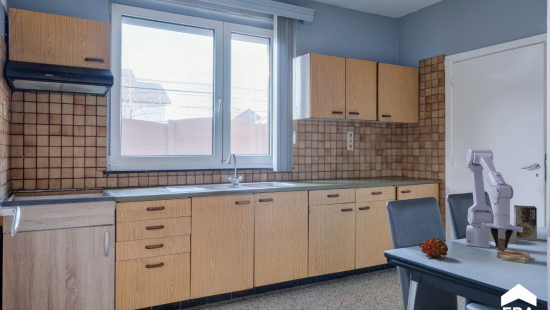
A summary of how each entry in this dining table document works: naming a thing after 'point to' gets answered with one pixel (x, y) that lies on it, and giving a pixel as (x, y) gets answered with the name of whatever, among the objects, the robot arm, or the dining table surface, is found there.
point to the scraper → (500, 247)
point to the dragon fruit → (434, 247)
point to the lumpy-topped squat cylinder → (502, 236)
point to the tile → (512, 255)
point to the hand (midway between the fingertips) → (501, 247)
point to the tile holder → (516, 259)
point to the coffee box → (526, 221)
